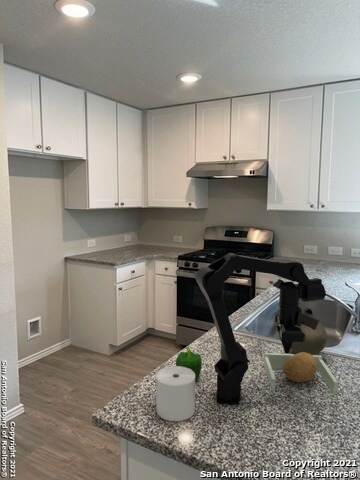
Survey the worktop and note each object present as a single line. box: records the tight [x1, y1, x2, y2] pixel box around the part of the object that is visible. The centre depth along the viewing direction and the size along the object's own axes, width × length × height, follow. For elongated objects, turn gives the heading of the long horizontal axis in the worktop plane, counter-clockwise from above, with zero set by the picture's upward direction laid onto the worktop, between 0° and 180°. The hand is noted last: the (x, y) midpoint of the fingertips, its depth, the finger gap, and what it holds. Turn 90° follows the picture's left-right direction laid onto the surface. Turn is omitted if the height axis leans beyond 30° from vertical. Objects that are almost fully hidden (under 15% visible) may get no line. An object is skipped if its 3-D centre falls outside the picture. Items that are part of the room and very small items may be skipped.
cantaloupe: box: [290, 321, 328, 355], centre depth 127 cm, size 14×14×15 cm
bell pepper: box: [175, 346, 203, 382], centre depth 110 cm, size 8×8×10 cm
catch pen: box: [263, 352, 339, 396], centre depth 110 cm, size 19×16×5 cm
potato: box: [281, 352, 318, 383], centre depth 111 cm, size 10×14×8 cm
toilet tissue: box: [155, 362, 196, 422], centre depth 94 cm, size 11×12×10 cm
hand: (286, 353), depth 103 cm, fingers closed
